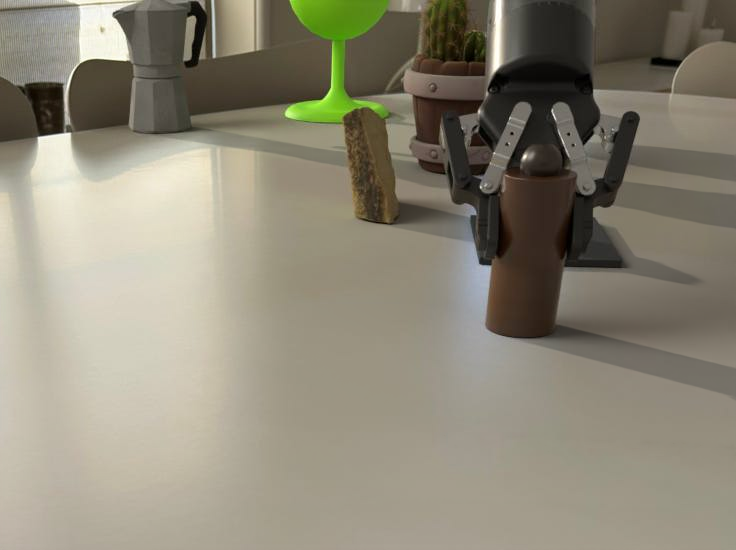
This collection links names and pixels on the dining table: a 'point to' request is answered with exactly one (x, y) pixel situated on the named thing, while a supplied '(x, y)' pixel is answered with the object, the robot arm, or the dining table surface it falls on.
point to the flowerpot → (447, 82)
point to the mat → (595, 255)
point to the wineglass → (336, 52)
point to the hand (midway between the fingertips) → (532, 253)
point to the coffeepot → (160, 62)
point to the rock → (370, 166)
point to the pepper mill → (531, 244)
